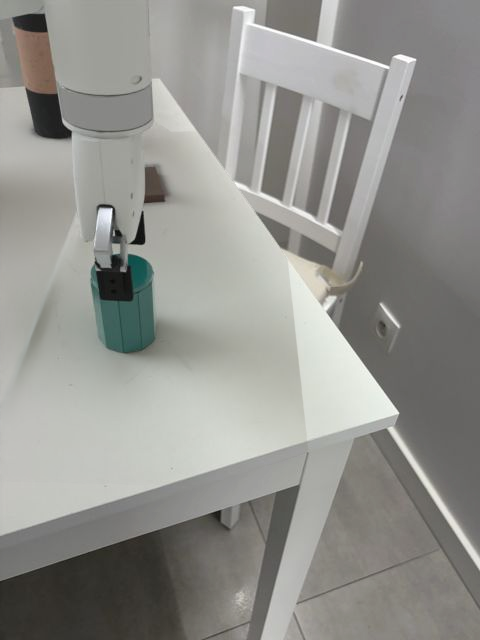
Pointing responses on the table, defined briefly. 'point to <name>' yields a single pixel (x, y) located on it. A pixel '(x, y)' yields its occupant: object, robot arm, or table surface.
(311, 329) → the table surface
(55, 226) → the table surface
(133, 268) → the cup
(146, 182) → the cup stand
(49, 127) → the travel mug
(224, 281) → the table surface
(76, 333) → the table surface
